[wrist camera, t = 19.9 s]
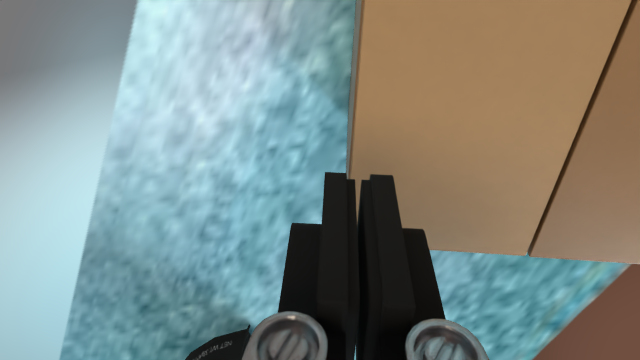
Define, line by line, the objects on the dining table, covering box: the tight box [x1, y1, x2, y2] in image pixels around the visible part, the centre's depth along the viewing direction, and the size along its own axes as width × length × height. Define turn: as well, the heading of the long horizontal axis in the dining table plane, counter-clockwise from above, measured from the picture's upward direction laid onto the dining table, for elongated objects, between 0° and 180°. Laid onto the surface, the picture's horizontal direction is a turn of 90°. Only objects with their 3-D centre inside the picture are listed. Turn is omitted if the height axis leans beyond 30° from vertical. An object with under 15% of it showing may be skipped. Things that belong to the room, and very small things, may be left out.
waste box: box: [346, 0, 640, 264], centre depth 21 cm, size 17×15×13 cm
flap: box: [350, 0, 631, 256], centre depth 16 cm, size 8×15×1 cm, turn 179°
